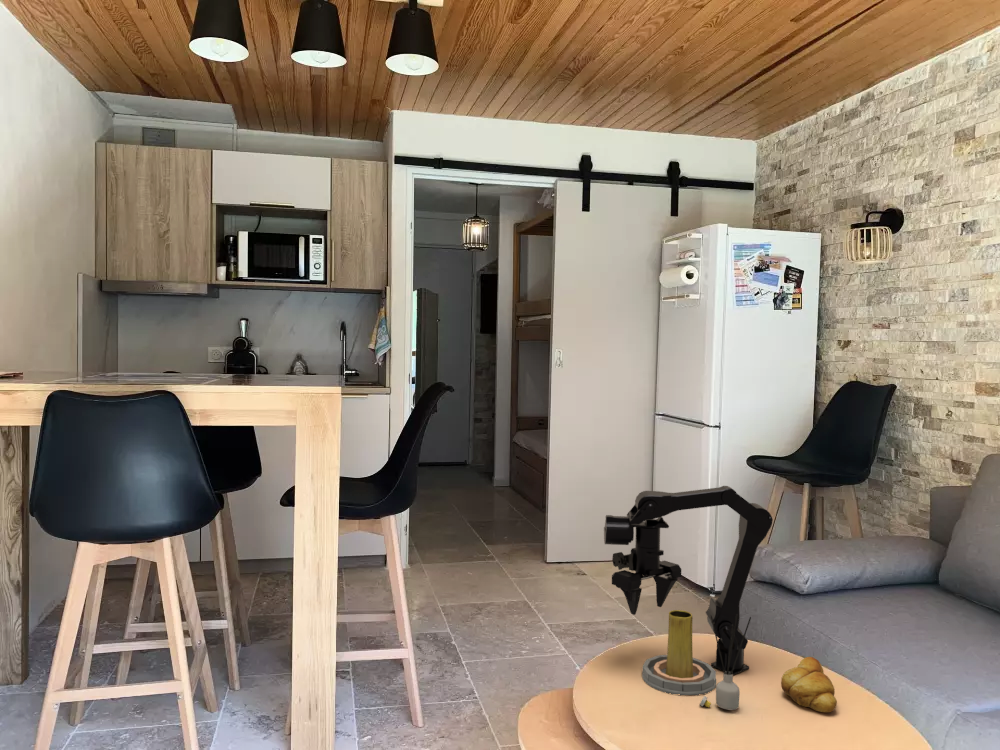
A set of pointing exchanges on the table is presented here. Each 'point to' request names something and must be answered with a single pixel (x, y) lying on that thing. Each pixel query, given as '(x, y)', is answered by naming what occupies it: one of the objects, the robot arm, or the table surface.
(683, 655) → the vase
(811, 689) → the bread roll
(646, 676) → the grooved tray
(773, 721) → the table surface
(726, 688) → the reed diffuser
